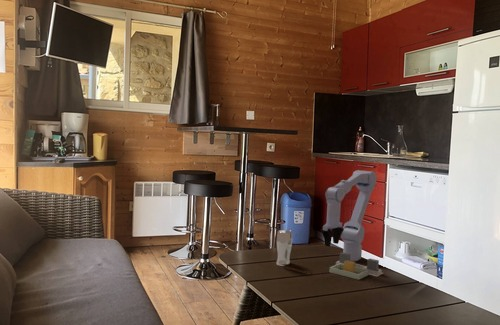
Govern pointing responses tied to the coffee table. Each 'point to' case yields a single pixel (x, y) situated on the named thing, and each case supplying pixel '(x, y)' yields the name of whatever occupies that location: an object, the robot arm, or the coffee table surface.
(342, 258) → the block
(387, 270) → the coffee table surface
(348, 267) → the block
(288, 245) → the beer glass
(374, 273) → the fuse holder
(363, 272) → the tray
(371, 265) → the block
